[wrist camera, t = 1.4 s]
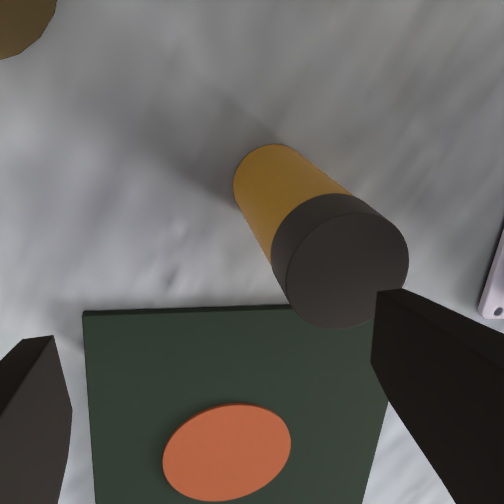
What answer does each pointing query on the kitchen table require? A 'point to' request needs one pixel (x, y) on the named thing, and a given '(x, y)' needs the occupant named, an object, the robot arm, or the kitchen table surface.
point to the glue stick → (319, 238)
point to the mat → (229, 407)
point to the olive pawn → (22, 23)
